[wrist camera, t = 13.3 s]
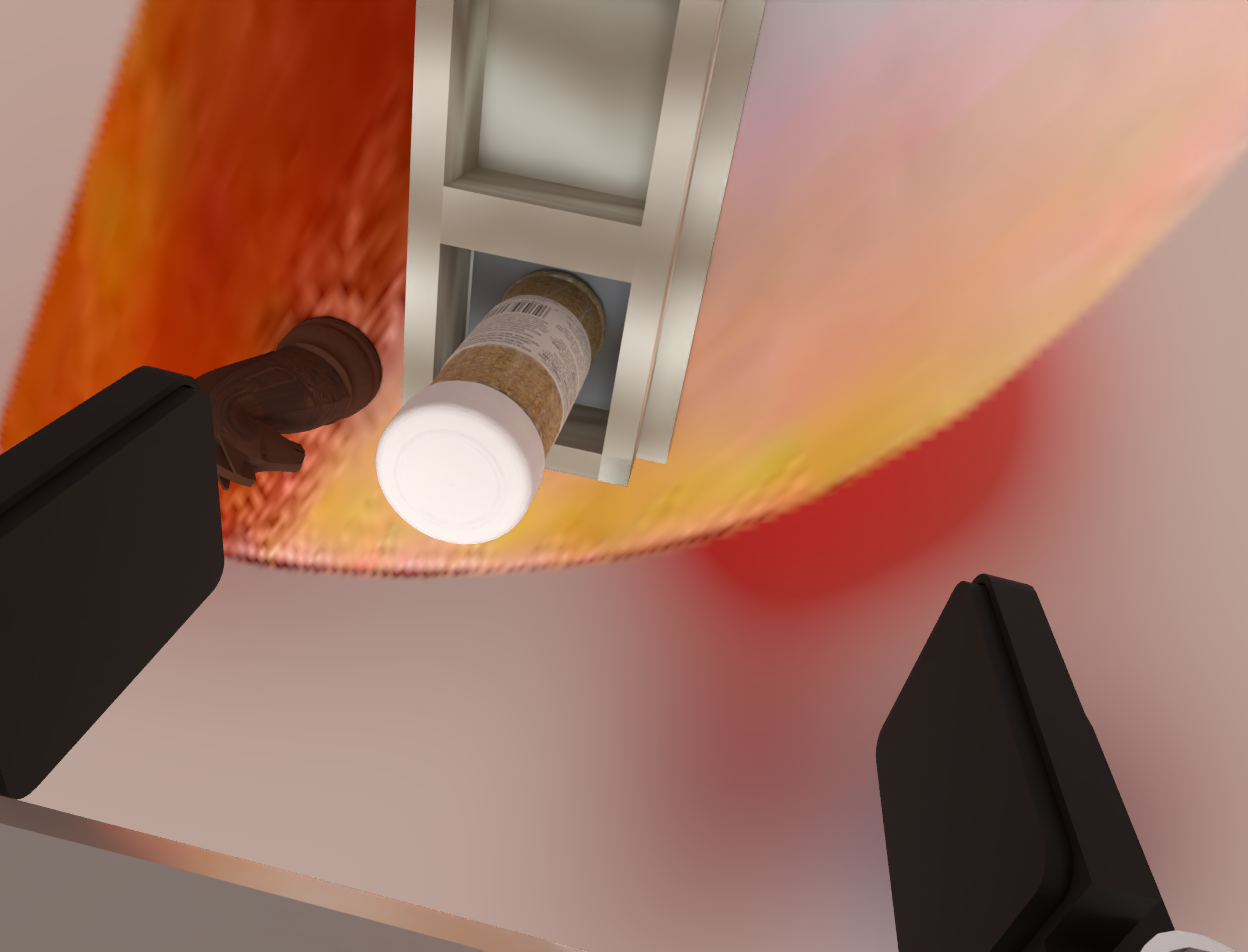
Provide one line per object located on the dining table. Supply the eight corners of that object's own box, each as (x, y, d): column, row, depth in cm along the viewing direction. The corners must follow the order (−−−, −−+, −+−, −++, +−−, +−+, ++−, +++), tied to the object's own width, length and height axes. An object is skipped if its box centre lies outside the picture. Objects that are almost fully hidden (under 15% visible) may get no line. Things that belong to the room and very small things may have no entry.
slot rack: (436, -122, 30) (378, -143, 25) (778, -58, 29) (780, -68, 25) (413, 398, 40) (369, 447, 35) (668, 453, 39) (654, 510, 35)
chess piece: (345, 428, 41) (231, 542, 32) (259, 353, 40) (117, 451, 31) (402, 367, 39) (296, 472, 30) (313, 286, 38) (176, 372, 29)
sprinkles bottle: (497, 360, 37) (369, 531, 25) (506, 255, 34) (370, 391, 23) (601, 382, 36) (521, 565, 25) (617, 278, 34) (537, 426, 22)
